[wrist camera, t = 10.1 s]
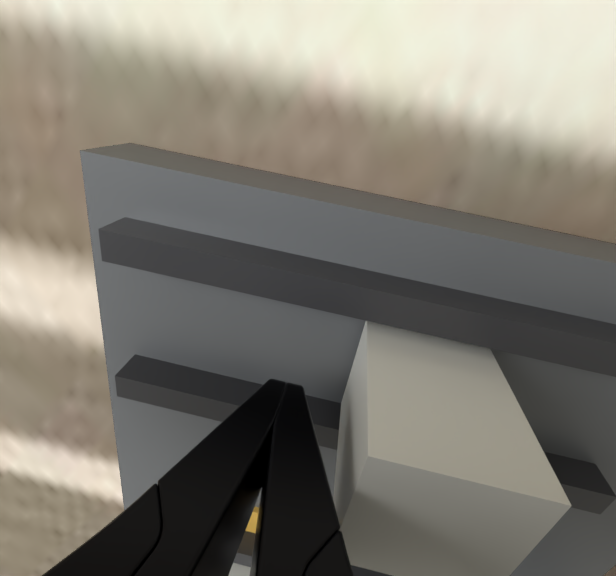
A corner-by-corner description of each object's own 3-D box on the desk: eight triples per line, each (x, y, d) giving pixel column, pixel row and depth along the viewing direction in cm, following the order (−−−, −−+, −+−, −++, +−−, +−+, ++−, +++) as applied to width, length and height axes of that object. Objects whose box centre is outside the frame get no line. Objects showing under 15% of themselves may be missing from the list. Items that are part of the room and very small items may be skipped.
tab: (487, 343, 9) (571, 505, 5) (444, 427, 10) (486, 599, 7) (367, 316, 9) (367, 456, 5) (341, 403, 10) (328, 558, 7)
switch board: (792, 280, 9) (965, 351, 7) (482, 616, 18) (501, 701, 16) (130, 143, 10) (45, 155, 7) (153, 530, 19) (119, 597, 17)
